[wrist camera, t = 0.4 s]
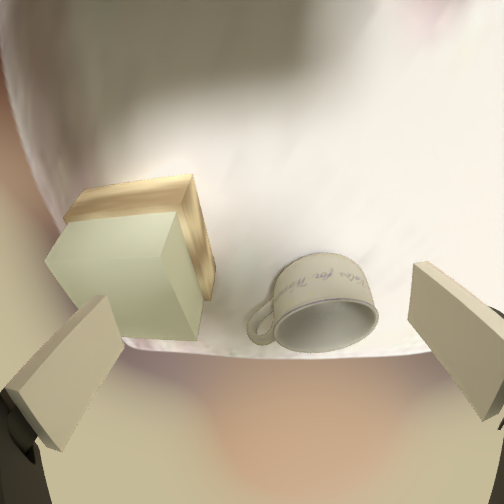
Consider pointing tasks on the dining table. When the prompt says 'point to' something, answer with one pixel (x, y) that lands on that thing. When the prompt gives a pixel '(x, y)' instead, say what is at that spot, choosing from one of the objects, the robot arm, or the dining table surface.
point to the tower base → (155, 201)
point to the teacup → (318, 306)
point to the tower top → (132, 273)
